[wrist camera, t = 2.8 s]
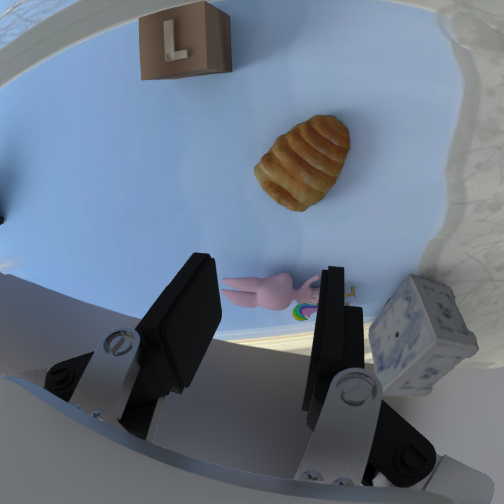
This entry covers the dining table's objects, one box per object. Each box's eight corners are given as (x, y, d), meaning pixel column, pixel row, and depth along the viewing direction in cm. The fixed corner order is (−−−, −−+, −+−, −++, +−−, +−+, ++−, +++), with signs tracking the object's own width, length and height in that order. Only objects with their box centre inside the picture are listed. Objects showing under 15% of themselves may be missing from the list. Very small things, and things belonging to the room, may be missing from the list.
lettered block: (229, 16, 20) (202, -1, 15) (232, 72, 24) (205, 68, 18) (172, 26, 22) (136, 17, 17) (175, 79, 25) (139, 80, 20)
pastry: (311, 97, 23) (308, 97, 20) (367, 144, 24) (373, 153, 21) (252, 170, 29) (241, 182, 25) (305, 212, 29) (301, 229, 26)
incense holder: (415, 341, 34) (424, 406, 25) (365, 324, 34) (366, 393, 26) (459, 289, 29) (484, 354, 20) (407, 265, 29) (427, 333, 20)
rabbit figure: (355, 266, 32) (223, 253, 33) (366, 301, 27) (213, 287, 28) (342, 307, 36) (223, 296, 36) (349, 342, 31) (215, 331, 31)
